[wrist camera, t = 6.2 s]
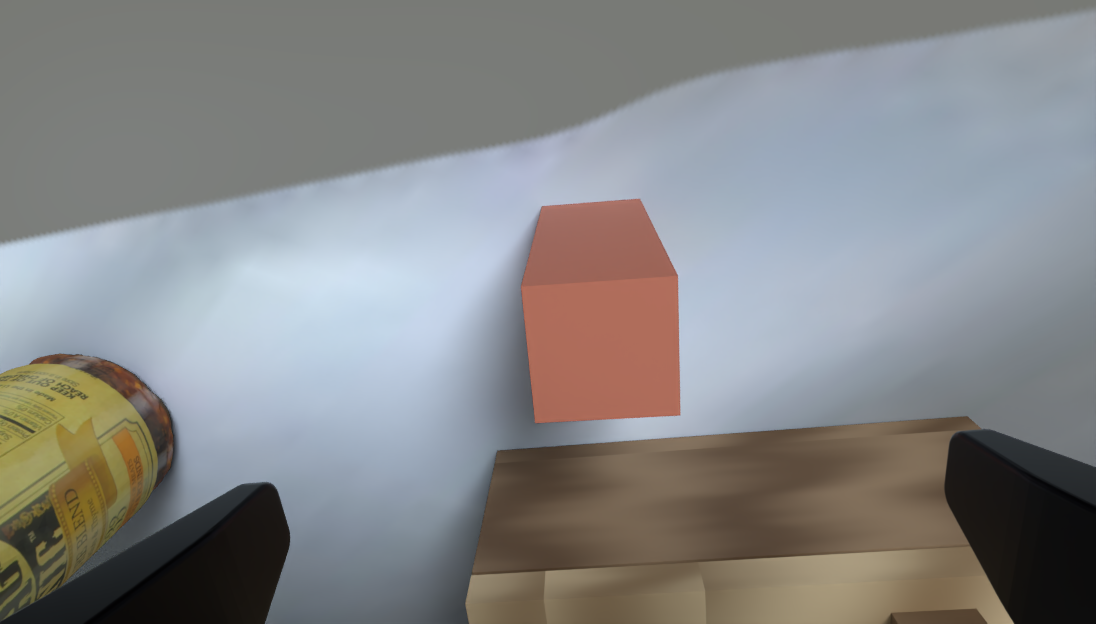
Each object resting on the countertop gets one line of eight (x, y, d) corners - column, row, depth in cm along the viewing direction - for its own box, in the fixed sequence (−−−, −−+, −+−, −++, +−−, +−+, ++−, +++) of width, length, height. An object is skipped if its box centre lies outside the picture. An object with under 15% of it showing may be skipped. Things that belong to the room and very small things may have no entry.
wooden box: (967, 416, 22) (1102, 535, 16) (941, 622, 25) (1047, 783, 19) (497, 450, 23) (471, 572, 18) (527, 643, 26) (514, 799, 21)
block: (639, 198, 20) (677, 276, 12) (643, 292, 21) (680, 415, 13) (542, 206, 20) (521, 286, 13) (550, 298, 21) (535, 422, 14)
